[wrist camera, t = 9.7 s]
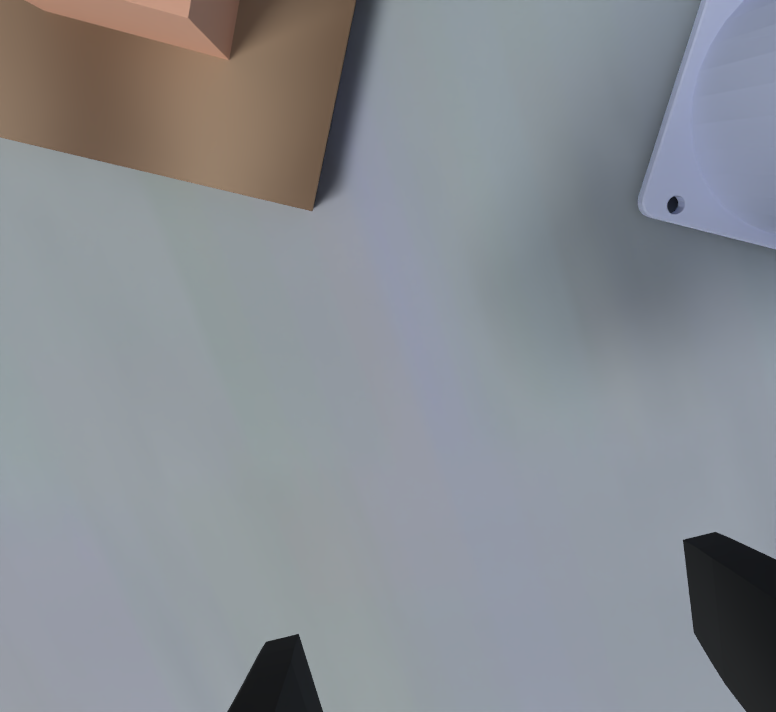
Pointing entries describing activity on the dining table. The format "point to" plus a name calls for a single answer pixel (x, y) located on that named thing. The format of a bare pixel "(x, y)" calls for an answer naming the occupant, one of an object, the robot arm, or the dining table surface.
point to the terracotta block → (159, 20)
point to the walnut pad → (182, 95)
